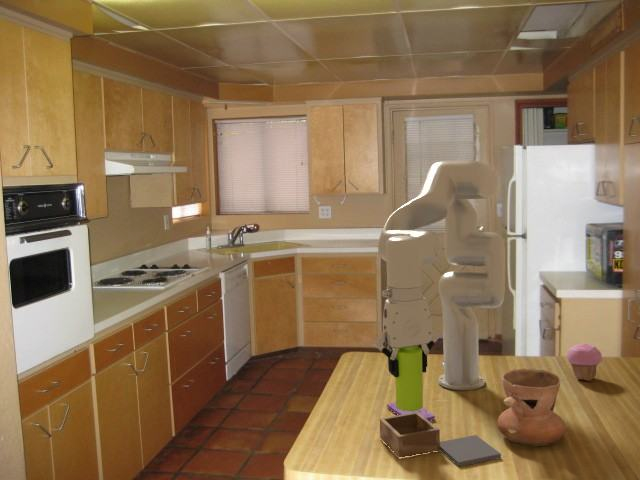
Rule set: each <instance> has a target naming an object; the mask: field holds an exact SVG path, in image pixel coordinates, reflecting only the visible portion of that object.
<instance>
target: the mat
mask: <svg viewBox="0 0 640 480" xmlns="http://www.w3.org/2000/svg"><path fill="white" fill-rule="evenodd" d="M440 450H441V451H442V452H443V453H444V454H443V453H442V452H441V451H440V452H441V453H442V454H443V455H445V454H446V455H447V456H448V457H449V458H450V459H451V460H452V461H451V460H450V459H449V458H448V457H447V456H446V455H445V456H446V457H447V458H448V459H449V460H450V461H451V462H453V461H454V462H455V463H456V464H457V465H458V466H460V467H463V466H462V465H465V466H468V465H467V464H470V465H473V464H472V463H475V464H478V463H477V462H480V463H482V462H481V461H485V462H488V460H489V461H493V460H498V459H501V458H502V453H501V452H500V451H498V450H496V449H495V448H494V447H493V446H491V445H490V444H489V443H487V442H486V441H485V440H483V439H482V438H481V437H479V436H478V435H476V434H475V435H469V436H463V437H458V438H453V439H448V440H442V441H440ZM454 462H453V463H454ZM455 463H454V464H455ZM456 464H455V465H456ZM457 465H456V466H457ZM458 466H457V467H458Z"/></svg>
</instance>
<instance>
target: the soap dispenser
mask: <svg viewBox="0 0 640 480" xmlns="http://www.w3.org/2000/svg"><path fill="white" fill-rule="evenodd" d="M396 359H397V360H398V367H399V376H398V377H395V402H396V407H397V408H398V409H400V410H403V411H417V410H420V409H421V408H422V407H423V408H424V400H423V399H424V398H423V397H424V395H423V394H424V393H423V388H424V387H423V382H424V381H423V372H422V348H420V347H418V346H411V347H404V348H399V349H398V352H397V355H396Z"/></svg>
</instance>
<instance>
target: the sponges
mask: <svg viewBox="0 0 640 480" xmlns="http://www.w3.org/2000/svg"><path fill="white" fill-rule="evenodd" d="M387 407H388V408H389V409H390V410H392V411H393V412H395V413H396V414H398V415H403V414H409V413H415V412H419V413H420V414H421V415H422V416H424V417H425V418H426V419H427V420H429V421H430V422H432V421H431V420H434V421H435V420H436V419H435V418H436V415H435V414H433V413H432V412H430V411H428V410H427V409H426V408H424V406H423V407H422V408H421V409H420V410H417V411H403V410H400V409H398V408H397V407H396V401H395V402H390V403H386V408H387ZM389 409H388V410H389ZM390 410H389V411H390ZM393 412H392V413H393ZM396 414H395V415H396Z"/></svg>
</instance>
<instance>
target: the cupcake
mask: <svg viewBox="0 0 640 480" xmlns="http://www.w3.org/2000/svg"><path fill="white" fill-rule="evenodd" d="M566 358H567V360H568V362H569V363H570V366H571V369H572V372H573V375H574V377H575V379H577V380H582V381H583V380H584V381H587V382H590V381H592V380H593V379H594V378H596V374H597V366H598V365H600V363H602V360H603V359H602V351H600V349H598V348H597V347H596V346H595V345H594V344H592V343H577V344H574V345H572V346H571V347H569V349H568V350H567V353H566Z"/></svg>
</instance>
